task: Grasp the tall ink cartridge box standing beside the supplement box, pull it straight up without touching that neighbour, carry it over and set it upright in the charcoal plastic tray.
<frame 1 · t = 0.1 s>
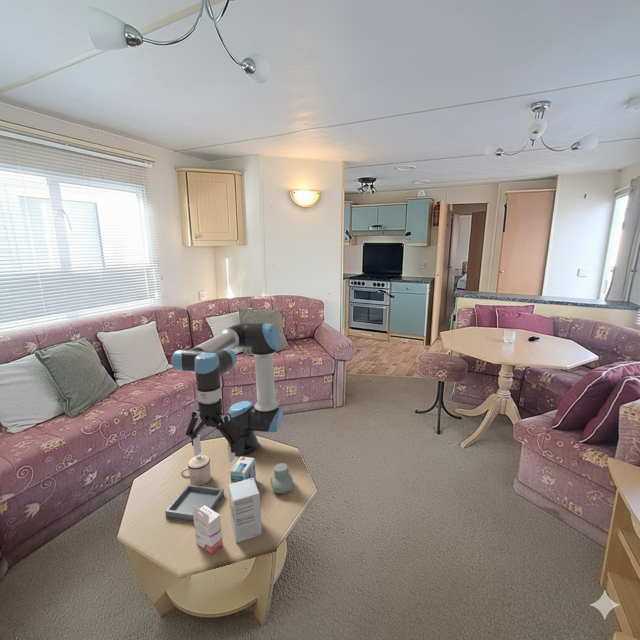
hand: (214, 457, 118), 28 cm above the table, fingers open, 13 cm apart
air freshener: (282, 488, 143), on the table
tray: (196, 506, 134), on the table
supplement box: (246, 529, 122), on the table
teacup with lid: (197, 481, 149), on the table
ink cartridge box: (209, 544, 117), on the table
light bulb box: (244, 487, 144), on the table
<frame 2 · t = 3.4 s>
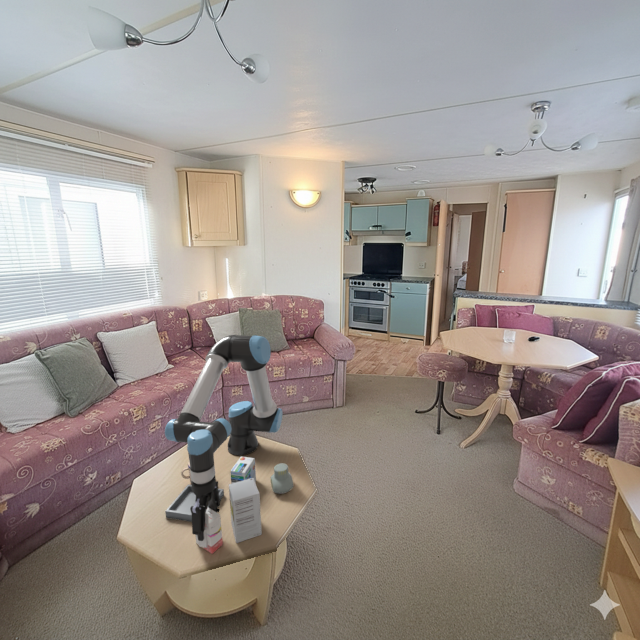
hand: (208, 537, 116), 2 cm above the table, fingers closed on ink cartridge box, 6 cm apart
ink cartridge box: (209, 544, 116), on the table, touching gripper
everything else where it was.
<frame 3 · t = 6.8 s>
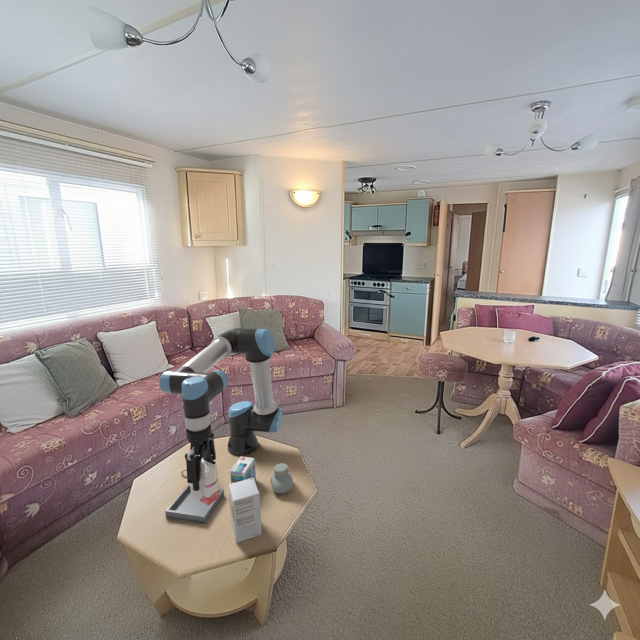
hand: (204, 489, 112), 21 cm above the table, fingers closed on ink cartridge box, 6 cm apart
ink cartridge box: (205, 497, 113), point 18 cm above the table, touching gripper
everything else where it was.
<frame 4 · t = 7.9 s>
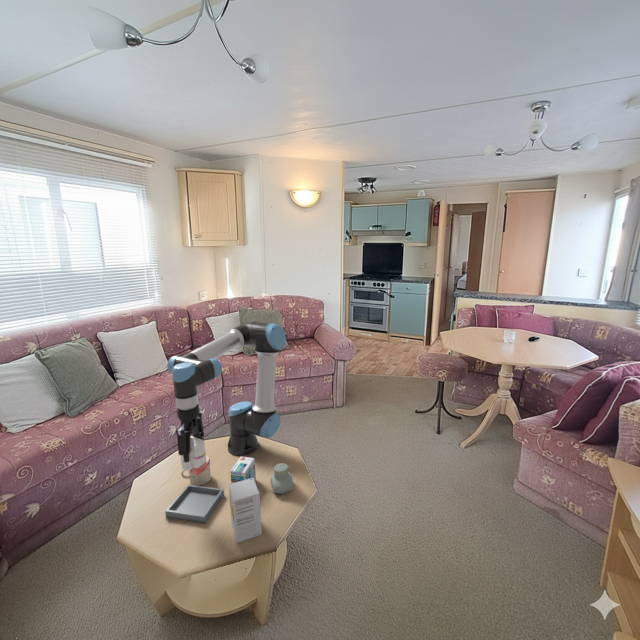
hand: (194, 462, 128), 20 cm above the table, fingers closed on ink cartridge box, 6 cm apart
ink cartridge box: (194, 469, 129), point 18 cm above the table, touching gripper
everything else where it was.
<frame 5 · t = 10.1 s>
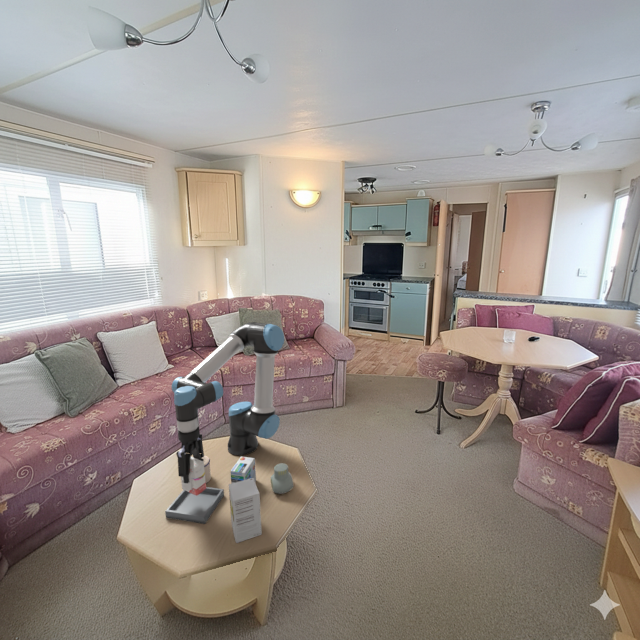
hand: (193, 482, 131), 10 cm above the table, fingers closed on ink cartridge box, 6 cm apart
ink cartridge box: (194, 489, 132), point 8 cm above the table, touching gripper
everything else where it was.
when the fingers open (4 cm above the table, at t = 11.7 s): ink cartridge box moves 2 cm, resting on tray.
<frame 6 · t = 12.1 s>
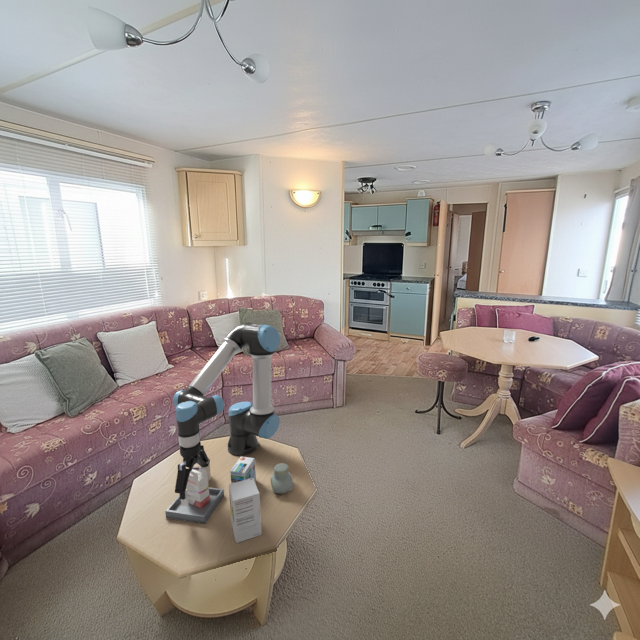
hand: (194, 492, 132), 6 cm above the table, fingers open, 12 cm apart
ink cartridge box: (198, 501, 135), point 1 cm above the table, touching tray
everything else where it was.
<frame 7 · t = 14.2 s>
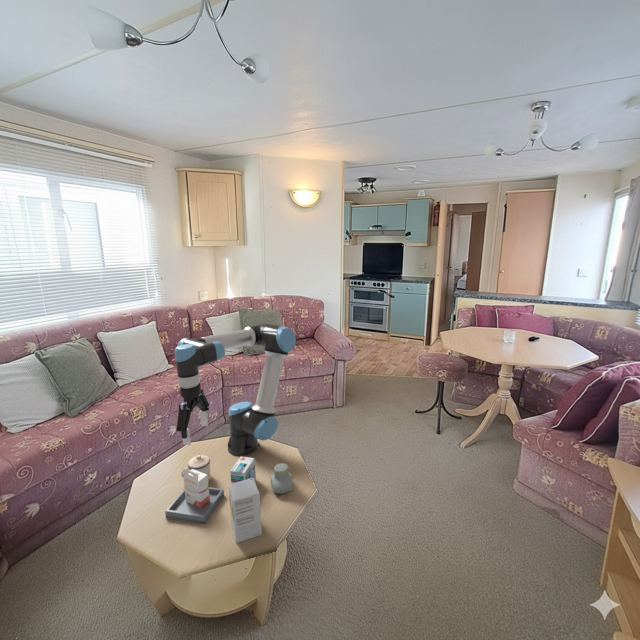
hand: (196, 434, 135), 27 cm above the table, fingers open, 13 cm apart
nothing on the table moved.
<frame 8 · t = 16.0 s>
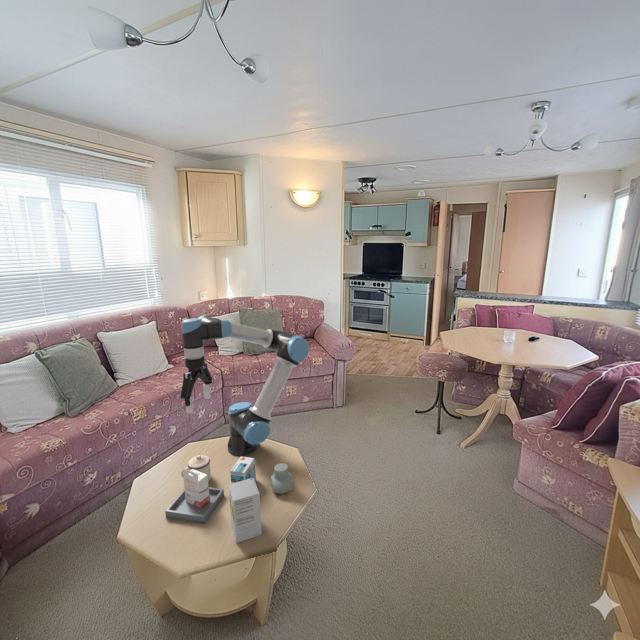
hand: (199, 405, 143), 35 cm above the table, fingers open, 13 cm apart
nothing on the table moved.
at the end: ink cartridge box inside the target area on the tray (1.5 cm from its centre), point 0.8 cm above the tray's base; ink cartridge box tilted 0°; supplement box moved 0.2 cm from its start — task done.
